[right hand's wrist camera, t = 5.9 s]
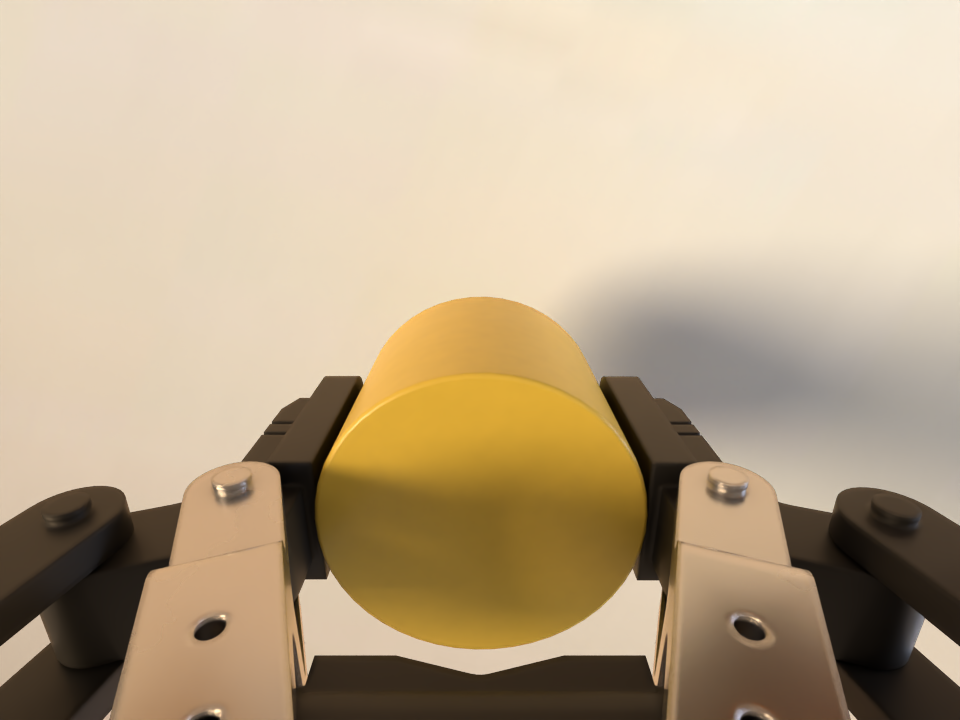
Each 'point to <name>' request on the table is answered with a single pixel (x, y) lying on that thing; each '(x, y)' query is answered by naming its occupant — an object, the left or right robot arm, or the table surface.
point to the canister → (481, 482)
